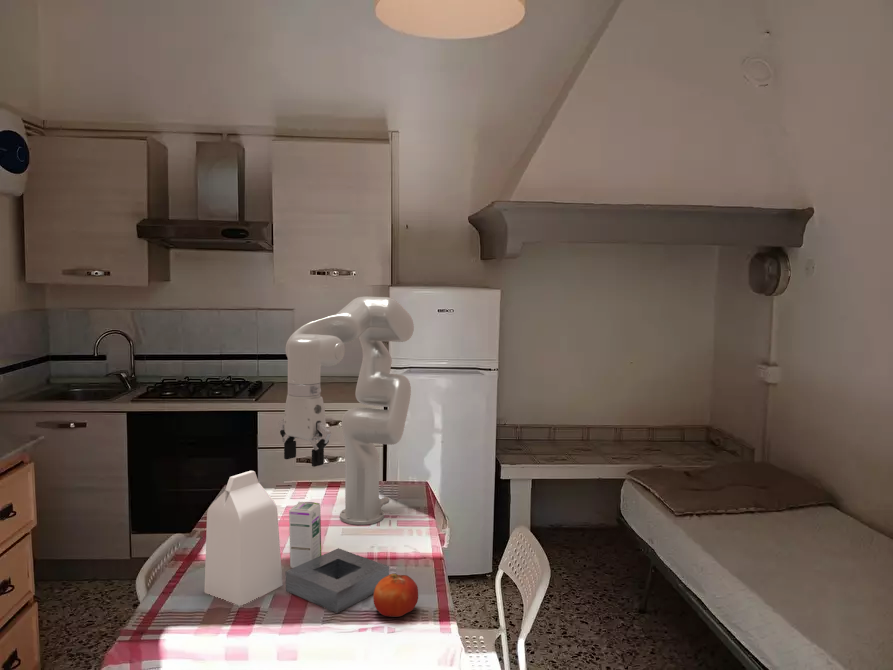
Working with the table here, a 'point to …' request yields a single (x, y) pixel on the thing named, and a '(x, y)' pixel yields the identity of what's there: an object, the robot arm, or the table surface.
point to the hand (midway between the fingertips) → (303, 461)
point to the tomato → (395, 595)
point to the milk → (242, 542)
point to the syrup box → (304, 532)
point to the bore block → (325, 589)
